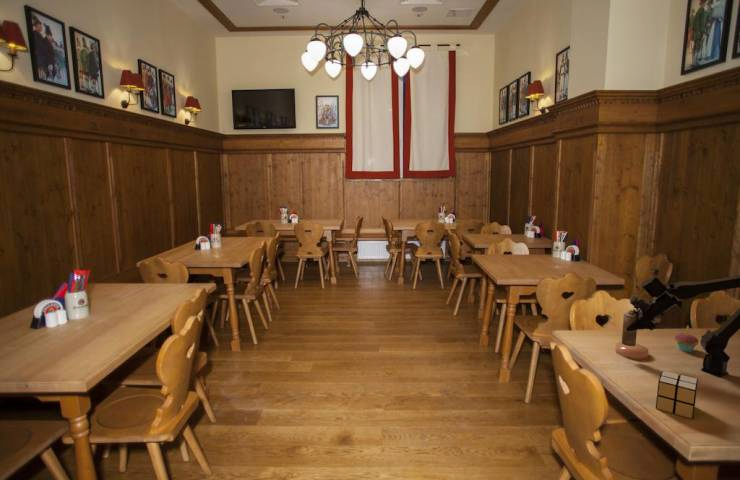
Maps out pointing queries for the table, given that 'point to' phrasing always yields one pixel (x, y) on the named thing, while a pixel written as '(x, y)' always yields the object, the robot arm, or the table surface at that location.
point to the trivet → (632, 351)
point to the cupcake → (686, 341)
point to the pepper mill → (629, 336)
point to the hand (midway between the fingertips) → (626, 328)
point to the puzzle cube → (676, 394)
